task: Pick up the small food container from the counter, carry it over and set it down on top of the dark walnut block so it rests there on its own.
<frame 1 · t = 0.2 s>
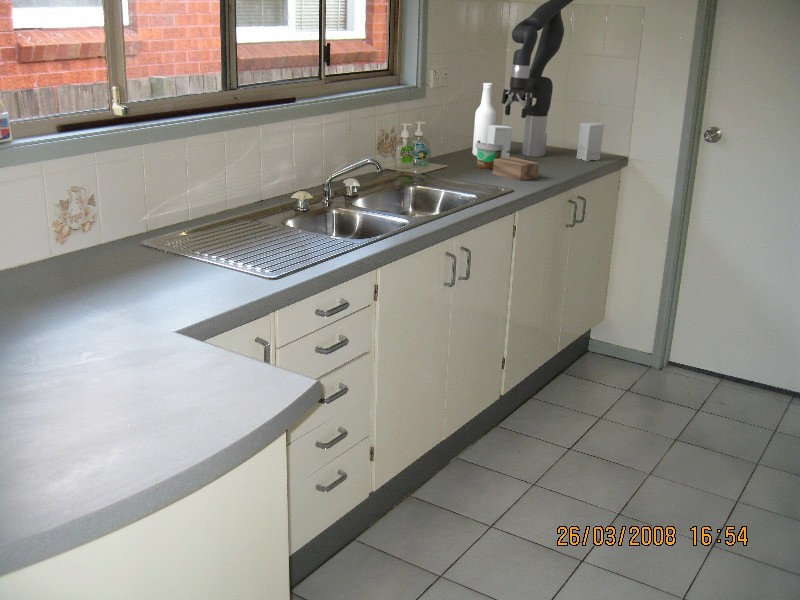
hand: (515, 116, 364), 18 cm above the table, tool pointing down, fingers open, 8 cm apart
skincare box 2: (497, 162, 361), on the table
alcohol: (482, 155, 374), on the table
food container: (484, 168, 348), on the table
skincare box: (588, 160, 375), on the table
walnut block: (514, 176, 337), on the table
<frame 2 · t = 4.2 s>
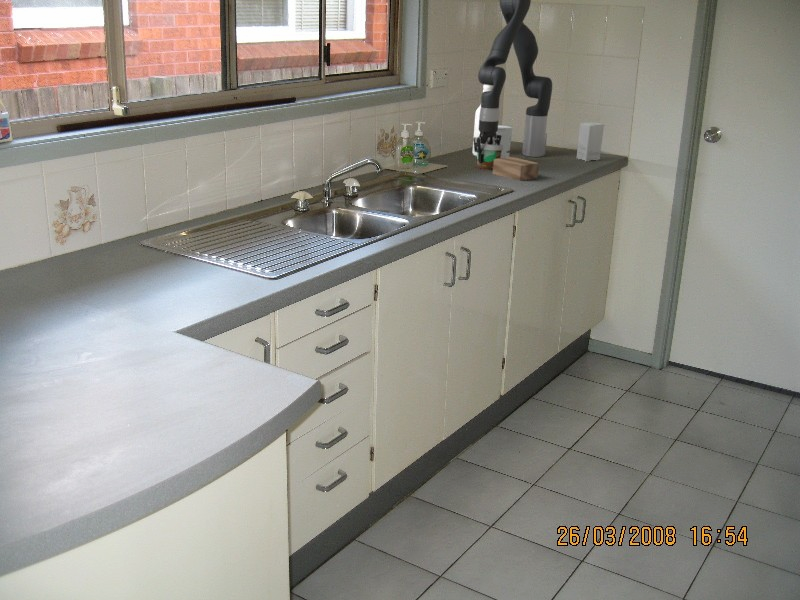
hand: (485, 162, 347), 2 cm above the table, tool pointing down, fingers closed on food container, 5 cm apart
food container: (484, 168, 348), on the table, touching gripper
everything else where it was.
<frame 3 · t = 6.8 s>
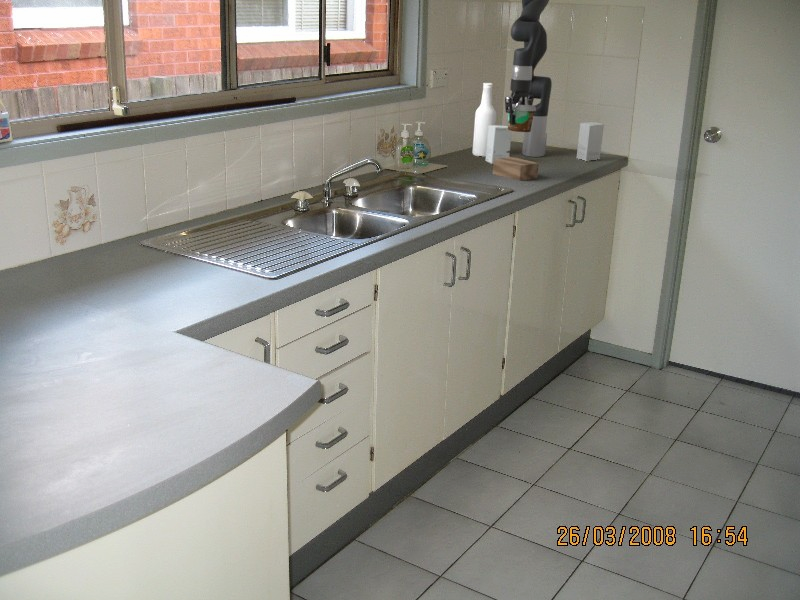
hand: (517, 124, 330), 20 cm above the table, tool pointing down, fingers closed on food container, 5 cm apart
food container: (515, 131, 331), point 17 cm above the table, touching gripper
everything else where it was.
when the fingers open (10 cm above the table, at t = 9.1 s): food container moves 3 cm, resting on walnut block.
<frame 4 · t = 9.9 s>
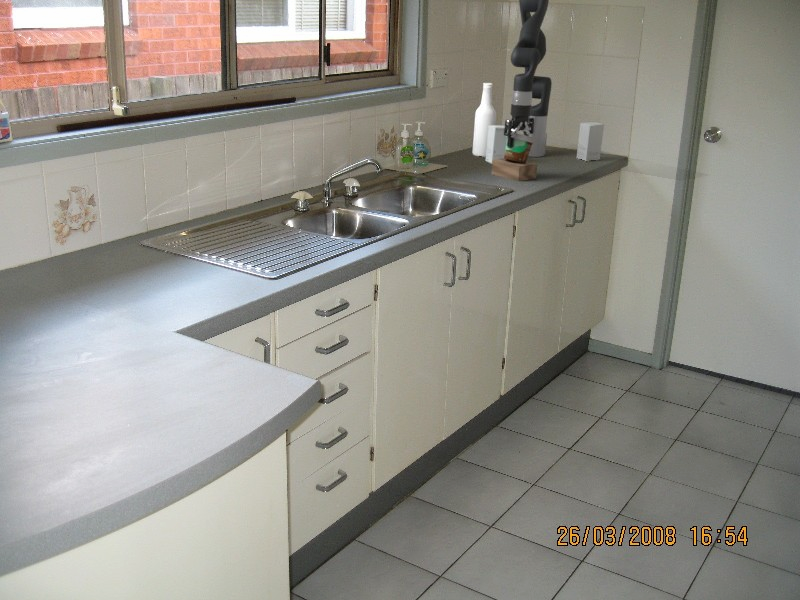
hand: (517, 146, 333), 11 cm above the table, tool pointing down, fingers open, 8 cm apart
food container: (511, 160, 333), point 6 cm above the table, touching walnut block
walnut block: (513, 177, 336), on the table, touching food container
everything else where it was.
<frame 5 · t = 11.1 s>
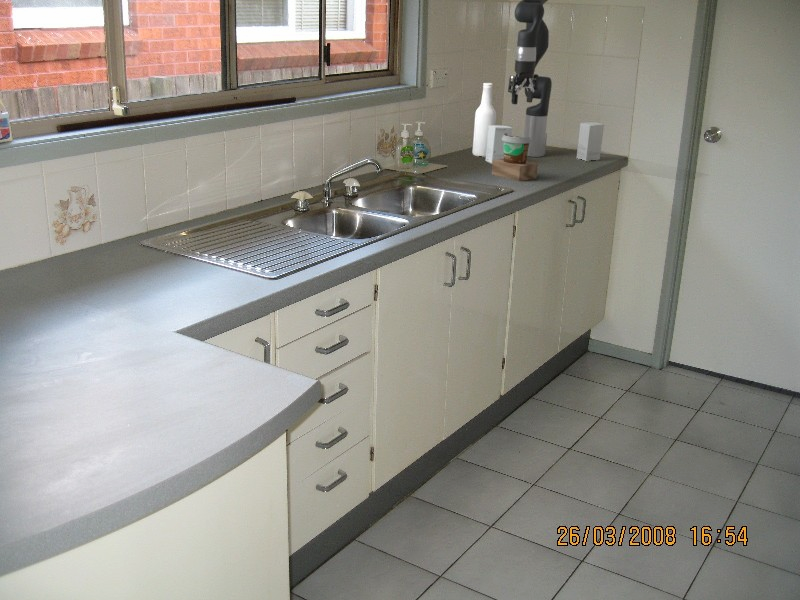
hand: (521, 103, 332), 27 cm above the table, tool pointing down, fingers open, 8 cm apart
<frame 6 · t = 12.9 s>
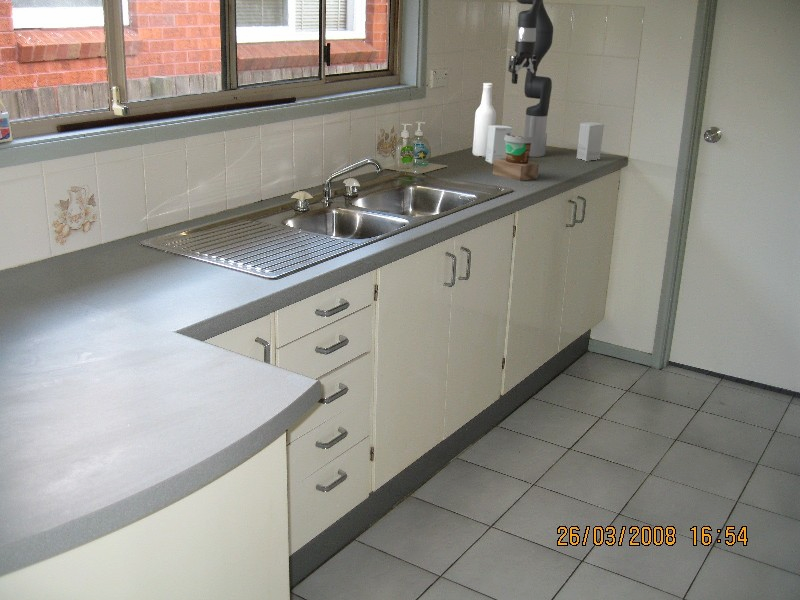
hand: (521, 83, 340), 33 cm above the table, tool pointing down, fingers open, 8 cm apart
at the end: food container inside the target area on the walnut block (1.9 cm from its centre), point 5.8 cm above the walnut block's base; food container tilted 0°; food container touching nothing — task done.
